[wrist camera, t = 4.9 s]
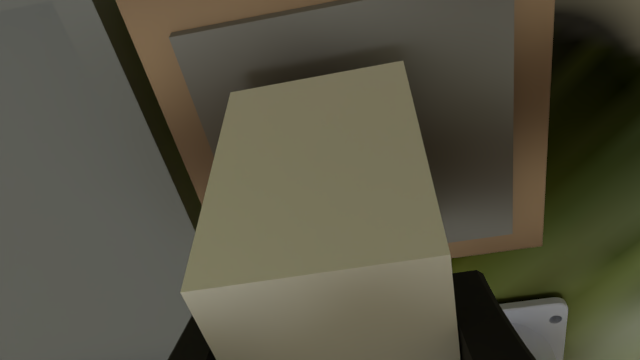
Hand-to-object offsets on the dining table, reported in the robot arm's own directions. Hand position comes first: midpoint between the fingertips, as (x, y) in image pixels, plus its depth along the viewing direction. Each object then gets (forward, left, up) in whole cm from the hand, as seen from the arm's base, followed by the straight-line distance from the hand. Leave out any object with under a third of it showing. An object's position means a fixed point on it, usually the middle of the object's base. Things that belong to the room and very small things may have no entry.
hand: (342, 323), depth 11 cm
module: (0, 0, -5) cm, 5 cm away
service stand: (0, -1, -9) cm, 9 cm away
